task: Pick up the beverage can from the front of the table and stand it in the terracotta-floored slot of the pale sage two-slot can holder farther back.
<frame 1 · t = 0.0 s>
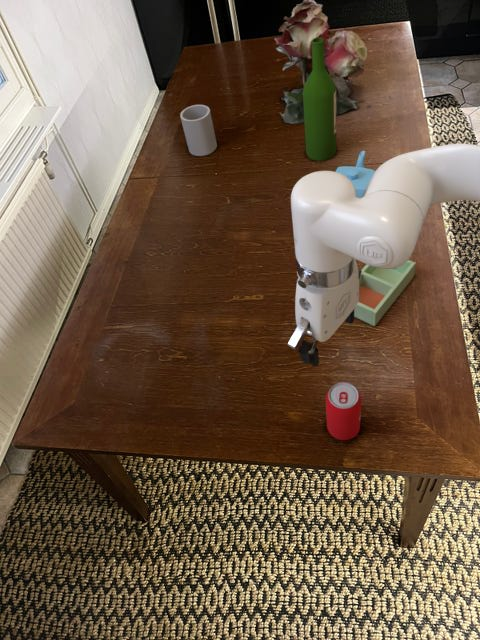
hand: (327, 339, 82), 26 cm above the table, tool pointing down, fingers open, 9 cm apart
teapot: (353, 205, 141), on the table
can holder: (376, 292, 121), on the table
cup: (203, 148, 169), on the table
rose bouquet: (318, 99, 177), on the table
wine bottle: (321, 152, 158), on the table
beverage can: (343, 427, 101), on the table
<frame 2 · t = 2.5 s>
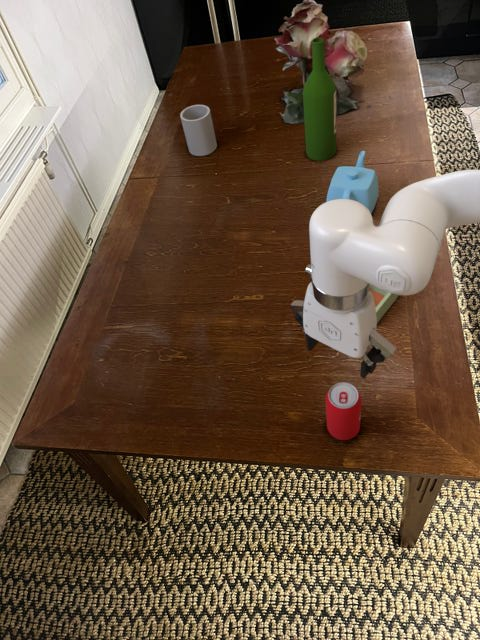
hand: (340, 357, 84), 23 cm above the table, tool pointing down, fingers open, 9 cm apart
nothing on the table moved.
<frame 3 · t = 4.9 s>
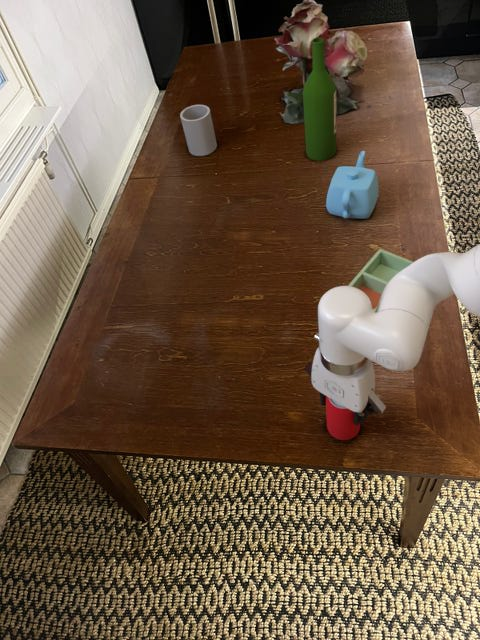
hand: (343, 408, 96), 7 cm above the table, tool pointing down, fingers closed on beverage can, 6 cm apart
beverage can: (343, 427, 101), on the table, touching gripper
everything else where it was.
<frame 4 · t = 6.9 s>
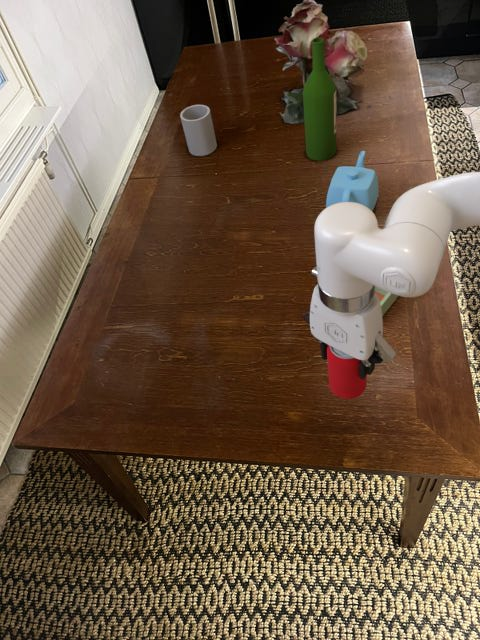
hand: (347, 362, 85), 22 cm above the table, tool pointing down, fingers closed on beverage can, 6 cm apart
beverage can: (347, 386, 90), point 14 cm above the table, touching gripper
everything else where it was.
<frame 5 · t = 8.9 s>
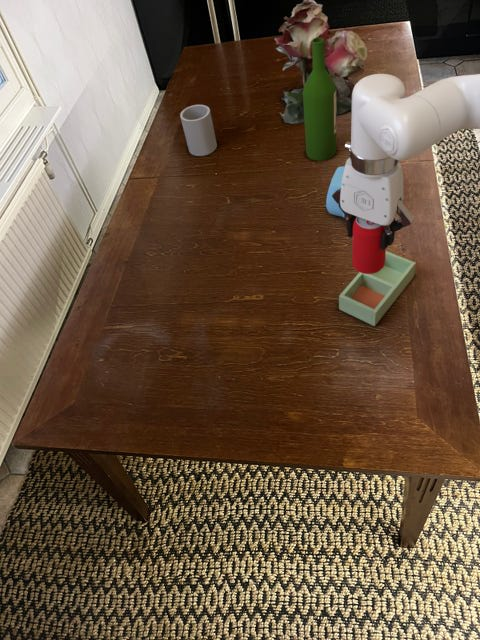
hand: (369, 238, 99), 24 cm above the table, tool pointing down, fingers closed on beverage can, 6 cm apart
beverage can: (368, 265, 104), point 16 cm above the table, touching gripper
everything else where it was.
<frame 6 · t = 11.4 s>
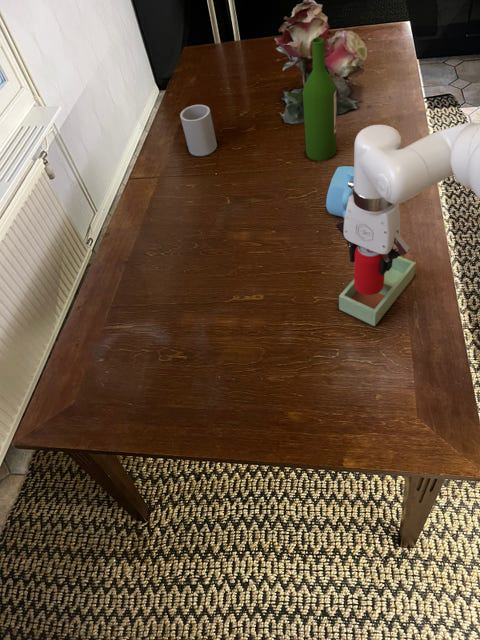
hand: (370, 263, 109), 13 cm above the table, tool pointing down, fingers closed on beverage can, 6 cm apart
beverage can: (368, 287, 114), point 6 cm above the table, touching gripper
everything else where it was.
when the fingers open (8 cm above the table, at t = 13.2 s): beverage can stays where it is, resting on can holder.
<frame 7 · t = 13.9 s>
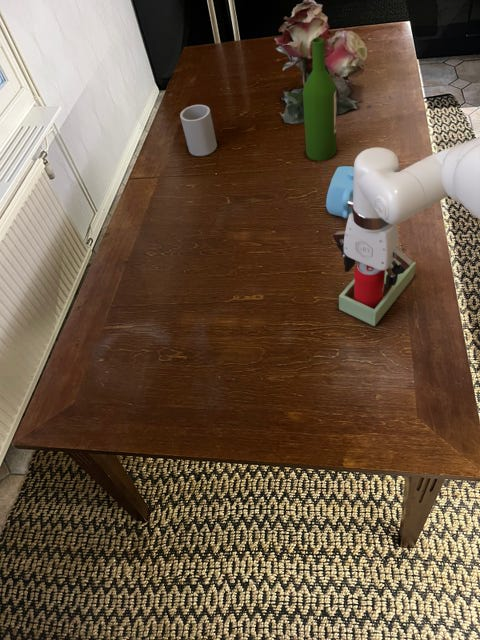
hand: (369, 276, 112), 9 cm above the table, tool pointing down, fingers open, 9 cm apart
beverage can: (367, 303, 118), point 1 cm above the table, touching can holder
everything else where it was.
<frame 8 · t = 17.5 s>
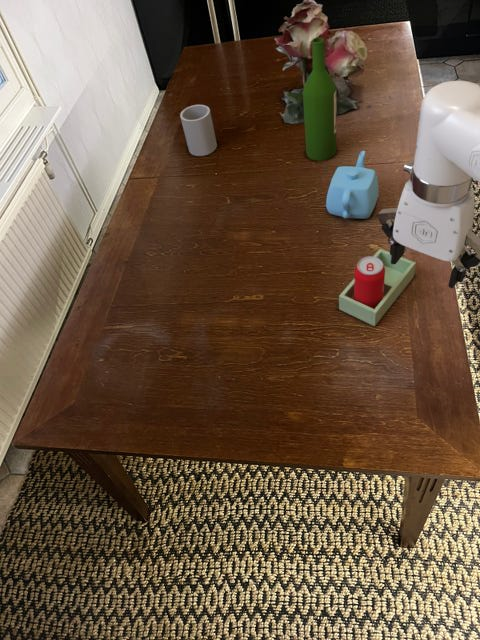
hand: (425, 270, 83), 30 cm above the table, tool pointing down, fingers open, 9 cm apart
nothing on the table moved.
at the end: beverage can 0.1 cm from the target spot in the can holder, point 0.6 cm above the can holder's base; beverage can tilted 0°; the gripper is holding nothing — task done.
